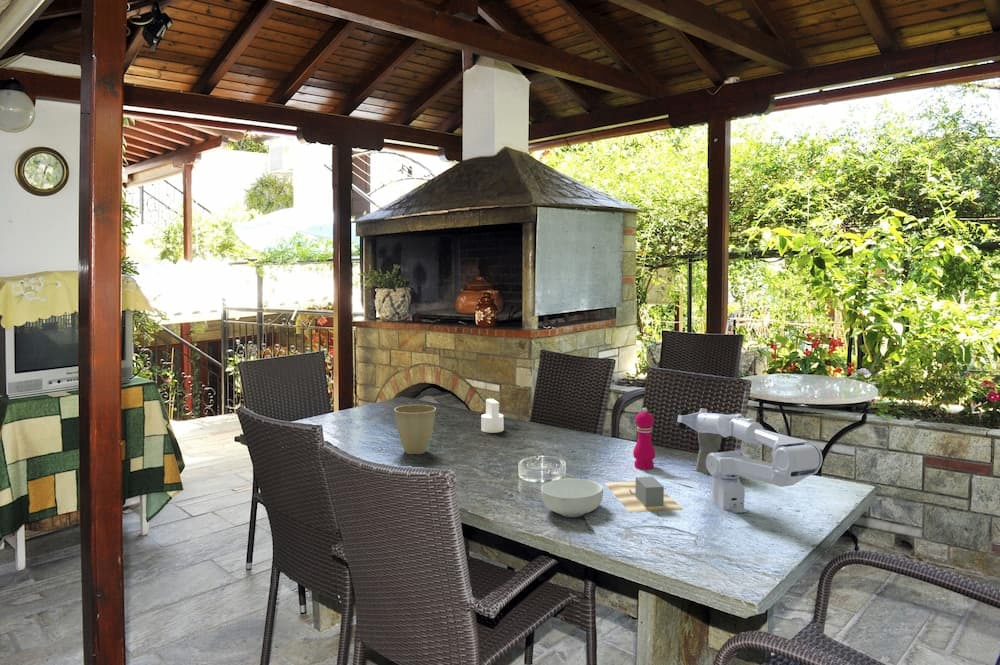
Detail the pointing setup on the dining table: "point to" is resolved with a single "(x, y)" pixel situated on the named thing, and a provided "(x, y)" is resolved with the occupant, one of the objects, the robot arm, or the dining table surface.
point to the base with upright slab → (492, 418)
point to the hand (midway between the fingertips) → (684, 420)
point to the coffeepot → (708, 448)
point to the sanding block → (649, 492)
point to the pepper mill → (644, 441)
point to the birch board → (627, 498)
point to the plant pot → (415, 426)
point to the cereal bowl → (572, 496)
